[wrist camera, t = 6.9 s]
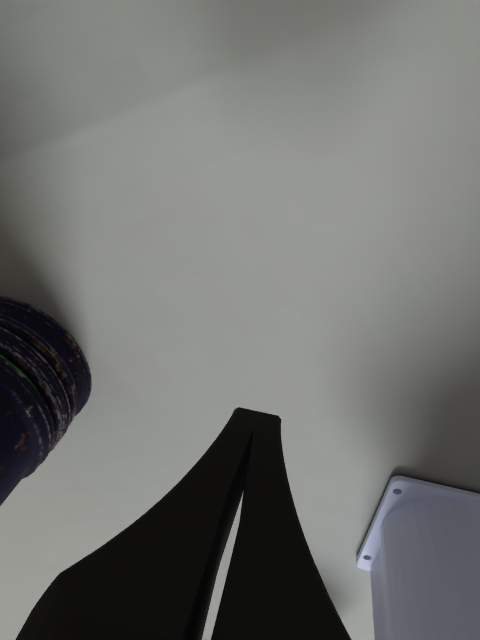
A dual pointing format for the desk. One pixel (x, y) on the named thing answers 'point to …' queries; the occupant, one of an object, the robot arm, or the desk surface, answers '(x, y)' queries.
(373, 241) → the desk surface
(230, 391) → the desk surface
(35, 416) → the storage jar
